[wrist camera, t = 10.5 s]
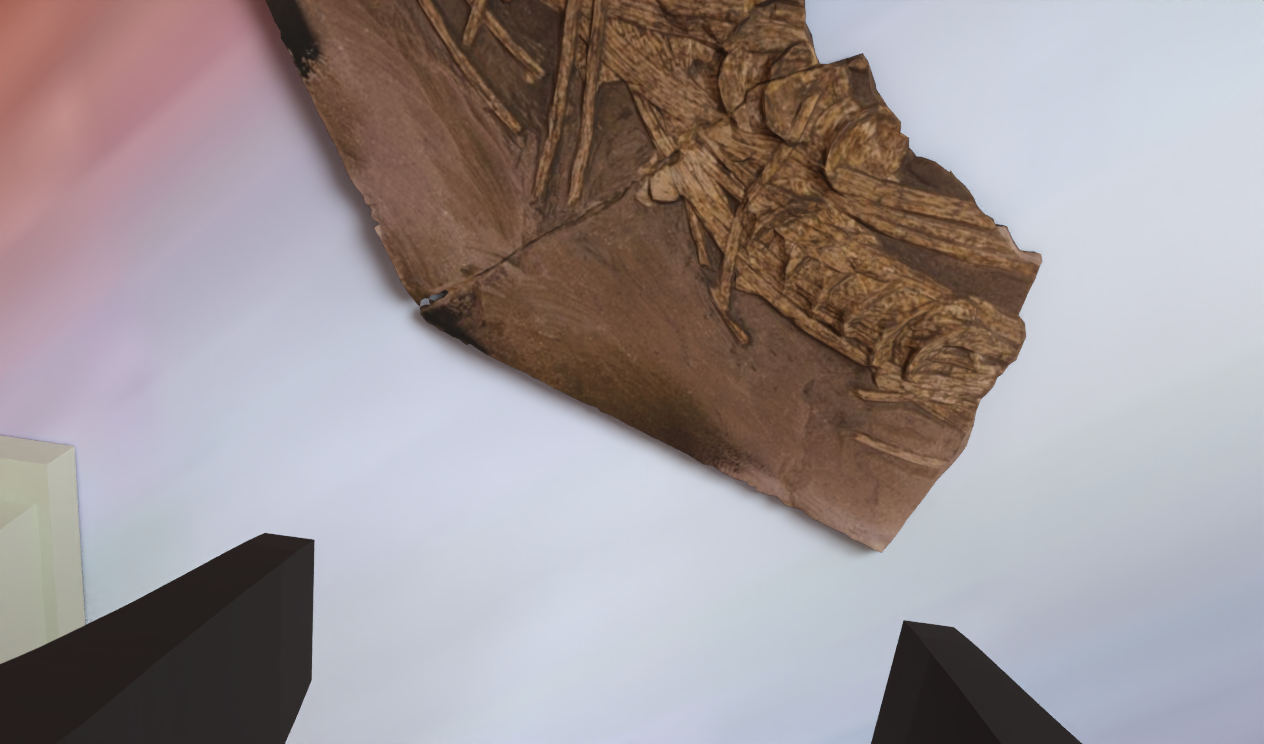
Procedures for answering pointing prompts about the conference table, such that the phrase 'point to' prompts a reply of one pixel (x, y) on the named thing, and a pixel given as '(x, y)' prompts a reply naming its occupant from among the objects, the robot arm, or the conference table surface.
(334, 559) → the conference table surface
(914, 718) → the robot arm
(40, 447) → the rack
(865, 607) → the conference table surface
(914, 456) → the wooden fragment
